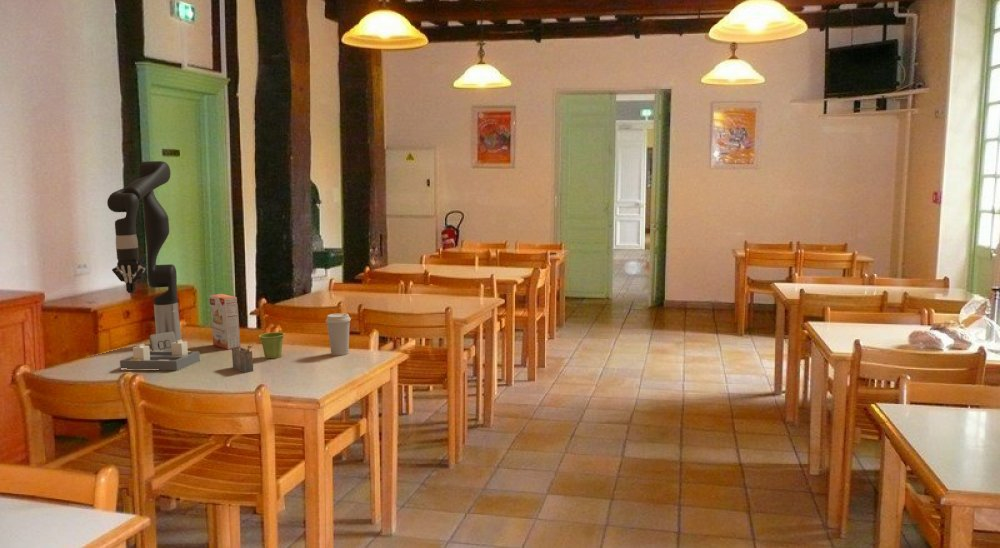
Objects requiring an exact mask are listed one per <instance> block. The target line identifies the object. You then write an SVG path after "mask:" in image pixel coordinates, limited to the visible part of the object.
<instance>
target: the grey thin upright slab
mask: <svg viewBox="0 0 1000 548" xmlns="http://www.w3.org/2000/svg"><path fill="white" fill-rule="evenodd" d="M252 348H253V345H251V344H248V345H247V348H243V347H240V348H239V347H233V348H232V349H231V355H232V356H231V357H232V368H234V369H236V370H238V369H239V371H241V372H243V371H244V373H246V374H247V373H250V372H254V362H253V360H254V359H253V351H252V350H251V351H250V349H252Z"/></svg>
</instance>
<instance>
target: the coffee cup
mask: <svg viewBox="0 0 1000 548" xmlns="http://www.w3.org/2000/svg"><path fill="white" fill-rule="evenodd" d="M351 320H352V318H351V317H350V315H349V314H348V313H346V312H345V313H343V312H341V313H331V314H328V315H326V319H325V323H326V324H327V325H326V326H327V333H328V340H329V347H330V355H331V356H338V357H339V356H346V355H348V354H349V349H350V348H349V347H350V346H349V345H350V324H351V323H350V322H351Z"/></svg>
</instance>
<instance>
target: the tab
mask: <svg viewBox="0 0 1000 548" xmlns="http://www.w3.org/2000/svg"><path fill="white" fill-rule="evenodd" d="M150 349H151V348H150V345H145V343H140V344H138V345H136V346H134V347H132V356H133V357H134V359H141V360H150V351H151V350H150Z"/></svg>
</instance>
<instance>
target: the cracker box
mask: <svg viewBox="0 0 1000 548" xmlns="http://www.w3.org/2000/svg"><path fill="white" fill-rule="evenodd" d="M209 306H210V316H211V317H210V319H211V332H212V333H211V334H212V344H213V345H214V346H216V347H219V348H222V349H225V350H228V351H230V350H232V348H233V347H239V349H240V348H242V347H241V336H240V321H239V320H240V319H239V307H238V297H237V296H234V295H233V296H232V295H229V294H224V293H217V294H210V295H209Z"/></svg>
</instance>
